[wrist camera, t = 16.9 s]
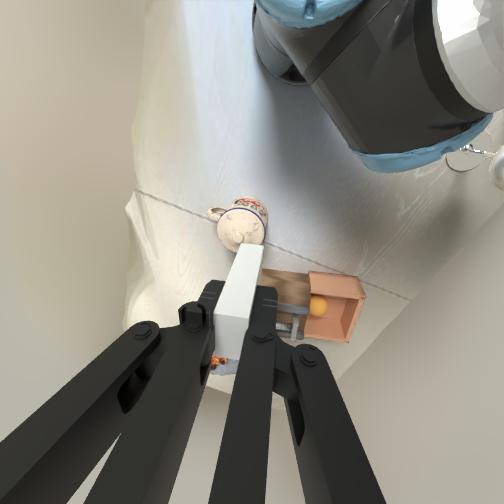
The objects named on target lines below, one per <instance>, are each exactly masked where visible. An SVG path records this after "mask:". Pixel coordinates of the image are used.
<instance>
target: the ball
mask: <svg viewBox="0 0 504 504" xmlns="http://www.w3.org/2000/svg"><path fill="white" fill-rule="evenodd" d="M309 307H310V314H311V315H313V316H322V315H324V314H325V313H326V311H327V309H328V303H327V301H326V299H325V298H324V297H323V296H321V295H317V294H315V295H312V296H311V302H310V306H309Z"/></svg>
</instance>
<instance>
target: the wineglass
mask: <svg viewBox="0 0 504 504" xmlns="http://www.w3.org/2000/svg"><path fill="white" fill-rule="evenodd" d="M491 147H492V139H491V137H490V135H489V134H488V133H487V132H485V131H483V132H481V133H480V134H479V135H478V136H477V137H476V138H474V139H473V140H472V141H471V142H469V143H468V144H466V145H465V146H463V147H462V148H460V149H458V150H456V151H455V152H448V153H447V163H448V165H449V166H450V167H451V168H452V169H454V170H458V171H465V170H469V169H472V168H474V167H476V166H478V165H479V164H480V163H482V162H483V161H484V160H485V159H486V157H487V158H492V159H491V161H490V164H489V169H488V173H489V178H490V180H491V182H492V184H493V185H494V186H495V187H496V188H497V189H498V190H500V191H502V192H504V144H503V145H501V146H500V147H499V149H498V150H497V151H496V152H495V153H494V152H490V150H491Z"/></svg>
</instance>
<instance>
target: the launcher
mask: <svg viewBox="0 0 504 504" xmlns="http://www.w3.org/2000/svg"><path fill="white" fill-rule="evenodd" d="M260 285H262V286H269V287H275V288H276V290H277V292H278V305H277V319H276V321H280V322H287V323H291V322H292V317H293V313H296V314H298V321H299V325H298V330H297V334H296V339H299V340H302V339H304V328H305V324H306V319H307V315H309V314H310V307H309V306H310V302H311V293H310V285H309V277H308V274H302V273H294V272H286V271H278V270H270V269H262V272H261V281H260ZM276 332H277V335H278V336H279V337H286V338H290V331H286V330H279V329H276Z"/></svg>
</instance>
